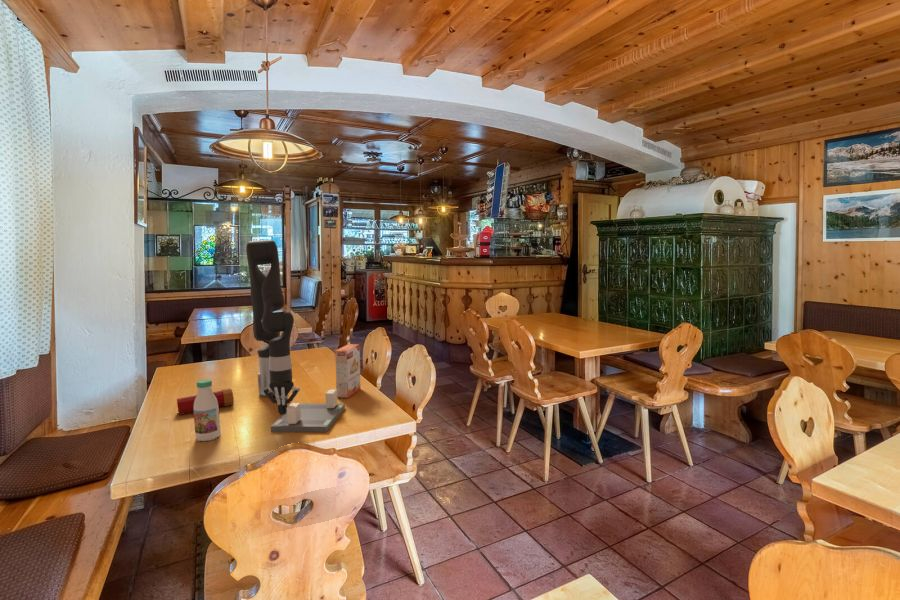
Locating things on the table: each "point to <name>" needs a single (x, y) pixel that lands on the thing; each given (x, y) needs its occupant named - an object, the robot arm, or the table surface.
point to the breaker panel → (310, 418)
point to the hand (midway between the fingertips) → (283, 414)
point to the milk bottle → (206, 412)
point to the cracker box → (347, 370)
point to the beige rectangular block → (293, 413)
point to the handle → (331, 398)
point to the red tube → (188, 402)
